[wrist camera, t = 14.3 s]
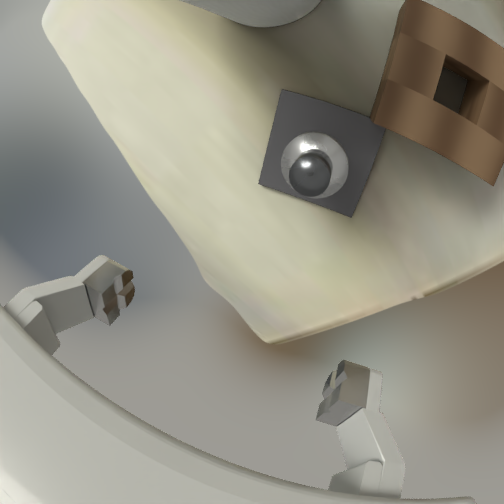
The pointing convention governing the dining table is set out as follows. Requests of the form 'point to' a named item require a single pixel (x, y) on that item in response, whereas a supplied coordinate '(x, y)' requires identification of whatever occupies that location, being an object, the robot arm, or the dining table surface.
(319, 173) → the end cover
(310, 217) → the dining table surface
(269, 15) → the utensil holder
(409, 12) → the socket block
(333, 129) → the mat
